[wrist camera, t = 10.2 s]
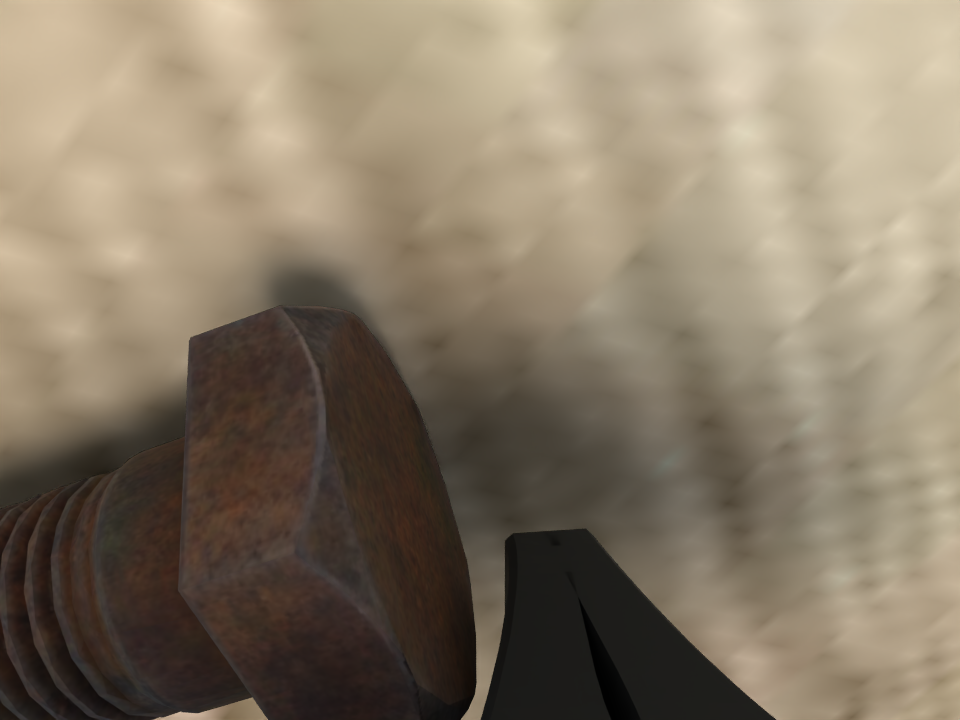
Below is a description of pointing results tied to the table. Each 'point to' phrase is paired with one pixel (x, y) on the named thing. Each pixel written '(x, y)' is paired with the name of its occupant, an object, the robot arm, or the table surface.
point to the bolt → (250, 550)
